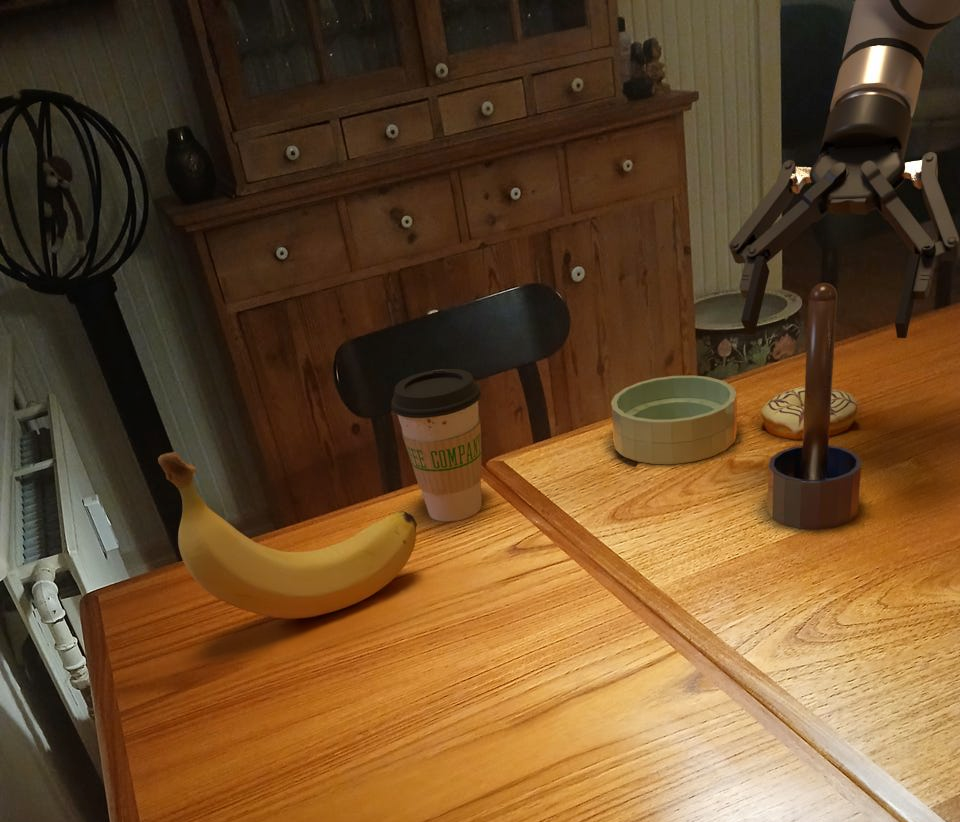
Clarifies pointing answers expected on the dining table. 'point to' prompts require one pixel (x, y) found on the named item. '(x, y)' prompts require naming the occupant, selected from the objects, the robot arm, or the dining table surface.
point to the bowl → (674, 419)
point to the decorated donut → (788, 413)
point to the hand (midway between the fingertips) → (821, 329)
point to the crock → (813, 490)
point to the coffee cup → (443, 439)
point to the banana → (284, 559)
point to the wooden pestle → (818, 381)
